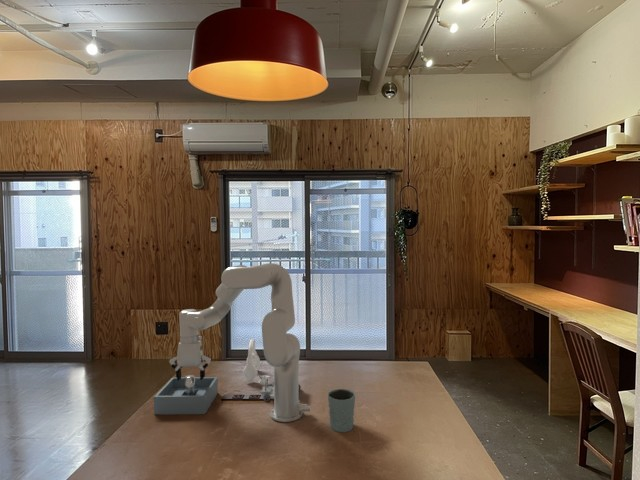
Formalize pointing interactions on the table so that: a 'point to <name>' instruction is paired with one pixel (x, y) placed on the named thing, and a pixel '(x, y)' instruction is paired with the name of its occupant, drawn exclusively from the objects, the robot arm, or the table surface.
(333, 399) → the teal cup
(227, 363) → the table surface
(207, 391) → the open box
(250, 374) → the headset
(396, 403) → the table surface
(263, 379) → the toy car
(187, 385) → the peg
